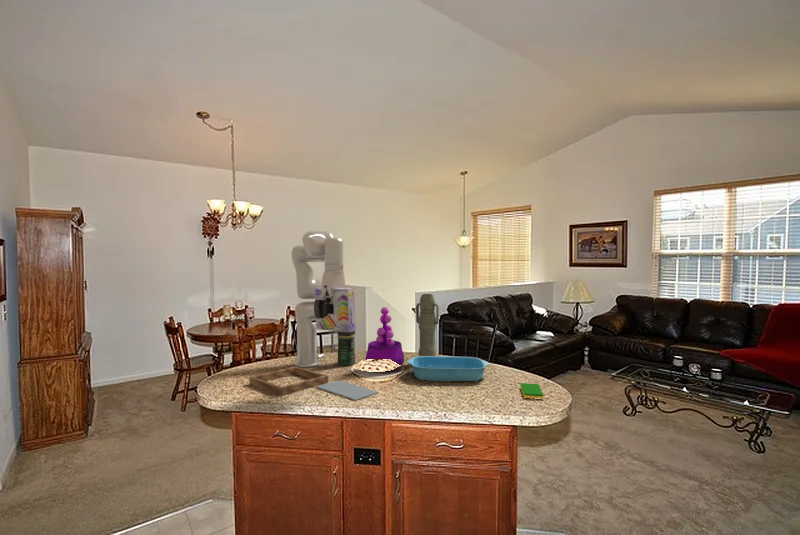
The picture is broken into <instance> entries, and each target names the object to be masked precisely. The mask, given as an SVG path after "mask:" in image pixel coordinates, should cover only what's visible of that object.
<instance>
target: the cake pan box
mask: <svg viewBox="0 0 800 535" xmlns="http://www.w3.org/2000/svg"><path fill="white" fill-rule="evenodd" d="M321 296H322V287H319V288H315V299H314V301H315V302H314V301H313V302H314V313H315V317H316V320H315V327H316V330H321V331H329V332H331V331H332V332H338V331H339V332H354V331H355V332H356V328H357V327H356V311H355V310H356V307H355V306H356V304H355V288H354V287H352V288H351V287H345V288H337V289H335V292H334V296H333V303H332V304H333V307H334V313H333V314H327V304H326V303H325V301H324V299H323V298H322V297H321ZM329 299H330V298H329Z"/></svg>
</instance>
